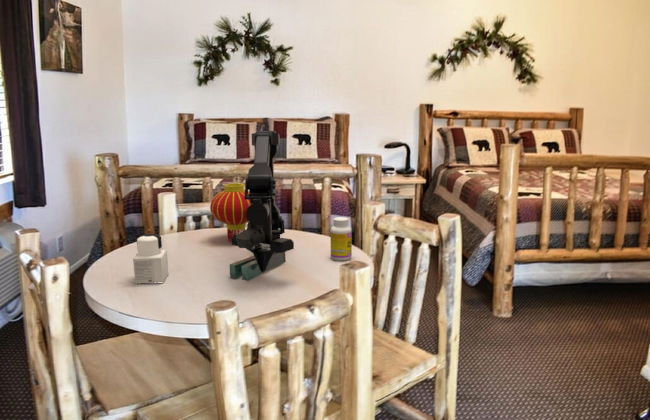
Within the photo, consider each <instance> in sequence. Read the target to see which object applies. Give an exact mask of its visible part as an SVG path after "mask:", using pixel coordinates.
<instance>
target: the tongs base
mask: <svg viewBox="0 0 650 420" xmlns="http://www.w3.org/2000/svg"><path fill="white" fill-rule="evenodd" d="M254 260H256V258H255V256H254V255H251V256H249V257H247V258H244V259H240V260H238V261H235V262H232V263H229V266H228V267H229V279H232V280H233V279H234V280H237V279H239V278H242V266H243V265H245V264H247V263H249V262H251V261H254ZM283 262H284V263H285V262H287V261H286V252H283Z"/></svg>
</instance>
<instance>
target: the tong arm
mask: <svg viewBox="0 0 650 420" xmlns="http://www.w3.org/2000/svg"><path fill="white" fill-rule="evenodd" d="M284 263H285V262H283V253H277V252H274V253H273V254H272V256H271V258H270V260H269V263H268V265H267V267H266V270H265V271H264V272H261V271H260V268H259V265H258V263H257V260H254V261H251V262H249V263H247V264H245V265H243V266H242V277H241V280H243V281H246V282H248V281H250V280H253V279H254V278H257V277H259V276H261V275H263V274H265V273H266V272H268V271H270V270H272V269H275V268H276V267H278V266H281V265H282V264H283V265H284Z"/></svg>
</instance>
